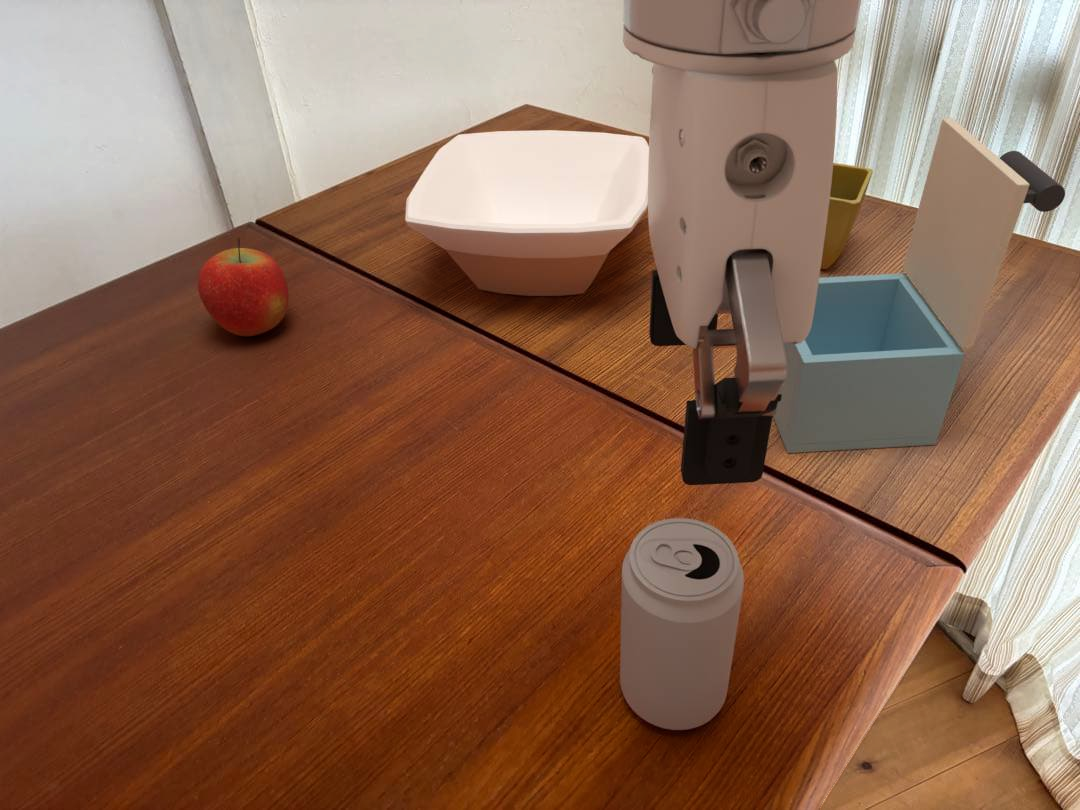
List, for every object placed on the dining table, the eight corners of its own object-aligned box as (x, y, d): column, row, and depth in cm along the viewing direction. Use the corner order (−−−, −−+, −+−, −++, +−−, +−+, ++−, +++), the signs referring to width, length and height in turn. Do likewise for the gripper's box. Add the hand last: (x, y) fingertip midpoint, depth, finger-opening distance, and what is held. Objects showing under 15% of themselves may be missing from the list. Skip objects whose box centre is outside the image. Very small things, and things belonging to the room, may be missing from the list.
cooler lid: (1018, 184, 53) (1102, 180, 54) (942, 118, 63) (1014, 115, 63) (961, 348, 61) (1035, 345, 61) (901, 268, 71) (966, 265, 71)
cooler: (787, 453, 67) (804, 362, 62) (752, 366, 76) (764, 280, 71) (935, 445, 67) (965, 353, 62) (883, 359, 76) (905, 272, 71)
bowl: (402, 322, 85) (386, 225, 78) (459, 213, 104) (449, 127, 97) (640, 334, 81) (644, 233, 75) (654, 218, 100) (657, 130, 94)
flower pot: (858, 245, 93) (874, 167, 87) (842, 283, 87) (859, 201, 81) (777, 232, 96) (788, 155, 91) (757, 267, 90) (768, 188, 84)
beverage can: (716, 750, 48) (737, 618, 41) (607, 720, 50) (608, 588, 42) (733, 658, 53) (755, 525, 45) (633, 633, 54) (638, 501, 47)
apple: (212, 318, 87) (182, 230, 81) (292, 301, 89) (268, 213, 83) (217, 360, 81) (185, 268, 75) (302, 341, 83) (277, 250, 77)
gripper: (969, 72, 21) (841, 544, 31) (787, -66, 34) (741, 298, 45) (662, 88, 21) (639, 554, 31) (601, -56, 34) (599, 305, 45)
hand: (699, 403), depth 38 cm, fingers open, 9 cm apart
